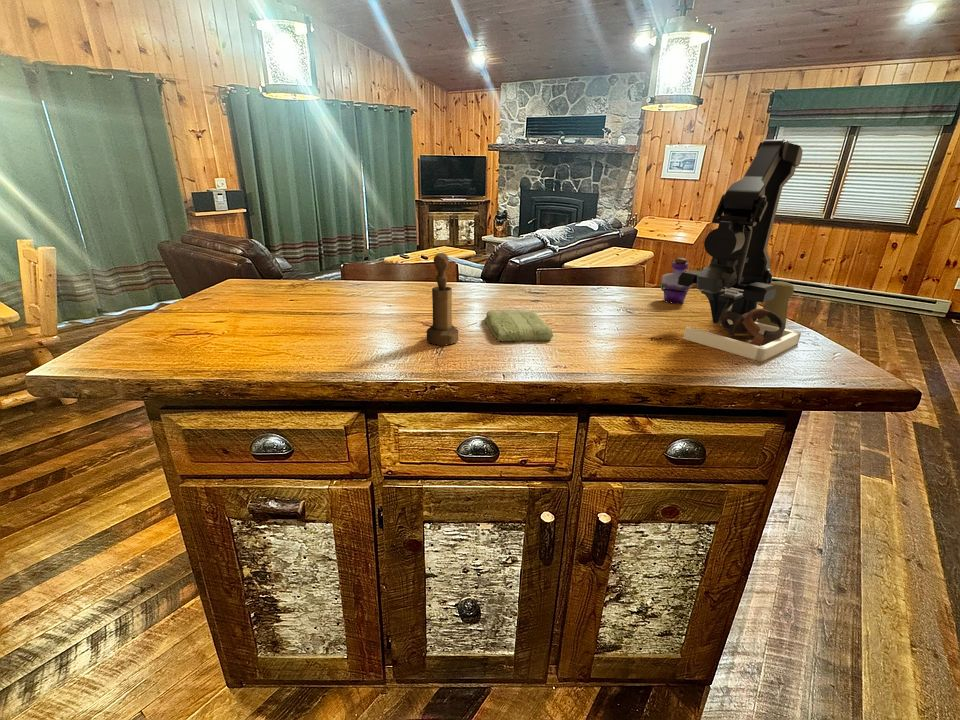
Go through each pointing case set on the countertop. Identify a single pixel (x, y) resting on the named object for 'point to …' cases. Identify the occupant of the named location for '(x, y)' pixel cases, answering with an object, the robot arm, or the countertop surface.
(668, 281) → the potion bottle
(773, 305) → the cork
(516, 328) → the washcloth
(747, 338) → the countertop surface
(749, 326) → the brown looped piece
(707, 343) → the cream bay
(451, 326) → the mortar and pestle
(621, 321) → the countertop surface
